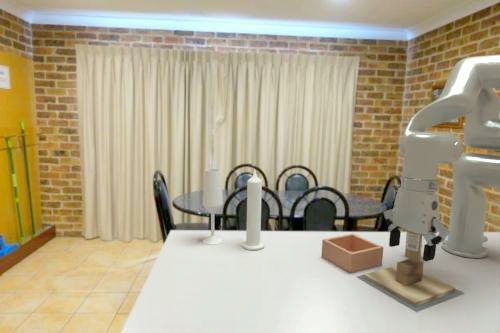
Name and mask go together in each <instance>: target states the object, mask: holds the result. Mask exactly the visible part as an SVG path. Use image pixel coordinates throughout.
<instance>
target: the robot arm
mask: <svg viewBox="0 0 500 333" xmlns="http://www.w3.org/2000/svg"><path fill="white" fill-rule="evenodd" d="M494 89H500V54H490V55H477V56H469V57H465V58H462V59H461V60H459V61H457V62H456V63H455V65H454V67H453V68H452V70H451V73H450V74H449V76H448V79H447V81H446V82H445V85H444V86H443V89H442V92H441V94H440V95H439V98H438V99H435V100H434V101H432V102H430V103H429V104H428V105H426V106H425V107H423V108H421V109H420V110H418V112H416V113H415V114H414V115H413V116H412V117H411V118H410V120H409V121H408V123H407V125H406V127H405V129H404V131H403V134H402V136H401V138H400V140H399V141H400V142H399V153H400V154H401V156H402V157H403V162H402V163H403V164H402V173H401V181H400V187H398V189H397V191H396V195H395V199H394V204H393V208H391V209H387V210H384V211H383V215H384V219H385V224H386V225H387V230H388V231H389V240H388V242H389V243H388V247H391V248H393V247H398V246H399V245H400V244H401V243H400V242H401V230H400V229H403V230H405V231H407V230H409V231H411V232H414V233H417V234H420V235H422V238H424V240H425V242H426V244H424V246H423V255H422V260H423V262H428V261H433V260H434V258H436V257H435V256H436V251H437V245H439V244H440V243H441V248H442V249H443V250H444V251H446V252H448V253H450V254H453V255H456V256H458V257H463V258H464V257H465V258H470V259H480V258H481V259H482V258H485V257H487V255H488V250H487V249H486V247H485V248H484V247H483V243H486V242H488V241H489V238H488V237H487V236H486V235H484V233H485V228H486V227H485V226H486V219H487V214H488V213H487V212H488V205H489V200H488V195H487V193H486V192H485V190H484V188H483V186H485V187H491V188H497V189H500V155H497V154H487V153H479V152H478V153H477V152H465V153H463V152H464V145H465V146H466V147H467V148H471V149H475V150H477V149H478V150H486V151H496V152H497V151H498V152H499V151H500V97H499V94H498V93H497V92H496V91H495V90H494ZM462 117H465V122H464V129H463V136H462V137H463V139H461V138H460V137H459V136H457V135H455V134H453V133H446V132H445V133H444V132H434V131H433V132H430V131H428V130H429V129H431V128H433V127H435V126H437V125H441V124H444V123H447V122H451V121H454V120H457V119H460V118H462ZM439 164H440V165H441V164H443V165H450V164H452V176H453V178H452V179H453V185H452V186H453V188H452V189H453V190H452V200H451V207H450V215H449V216H450V217H449V224H448V225H449V226H448V228H447V227H446V226H445V225H444V224H442V223H441V222H440V215H441V214H440V213H441V211H440V205H441V204H440V197H439V196H440V195H439V193H438V192H436V191H439V190H440V189H441V185H440V184H439V183H437V177H438V168H439ZM436 234H438V235H436ZM446 238H447V240H446Z"/></svg>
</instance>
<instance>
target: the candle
mask: <svg viewBox="0 0 500 333" xmlns="http://www.w3.org/2000/svg"><path fill="white" fill-rule="evenodd" d="M246 183H247V188H246V190H247V191H246V193H247V194H246V234H245V235H246V240H245V241H244V242H242V245H241V246H242V248H243V249H244V250H248V251H252V252H253V251H261V250H264V248H265V243H264V242H262V241H261V230H262V229H261V226H262V224H261V222H262V196H263V195H262V194H263V193H262V191H263V190H262V189H263V185H262V184H263V181H262V179H260V178H259V176H258V175H257V170H256V169H254V170H253V175H252V176H251V177H250V178H249V179H247V182H246Z"/></svg>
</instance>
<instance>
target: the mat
mask: <svg viewBox="0 0 500 333" xmlns="http://www.w3.org/2000/svg"><path fill="white" fill-rule="evenodd" d="M395 266H397V264H396V265H395ZM390 267H391V266H390ZM390 267H388V268H390ZM379 270H380V269H379ZM379 270H377V271H379ZM370 273H372V272H370ZM365 274H366V273H364V274H361V275H356V278H357V279H359V280H360V281H362V282H364V283H365V284H367V285H369V286H371V287H372V288H374V289H376V290H377V291H378V292H381V293H383V294H384V295H385V296H388V297H389V298H392V299H393V300H395V301H396V302H397V303H400V304H402V305H403V306H405V307H406V308H409V309H410V310H411V311H414V312H415V313H418V312H420V311H423V310H426V309H428V308H430V307H434V306H436V305H439V304H441V303H443V302H444V303H445V302H446V301H449V300H452V299H455V298H457V297H459V296H462V295H464V294H466V292H464V291H461V290H459V289H457V288H456V290H455V292H453V293H451V294H448V295H445V296H443V297H440V298H437V299H435V300H432V301H429V302H426V303H424V304H421V305H418V306H416V307H414V306H412V305H411V304H409V303H407V302H405V301H404V300H402V299H400V298H398V297H397V296H395V295H393V294H391V293H390V292H388V291H386V290H384V289H383V288H381V287H379V286H377V285H376V284H374V283H372V282H370V281H369V280H367V279H365V278H364V276H365Z"/></svg>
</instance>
